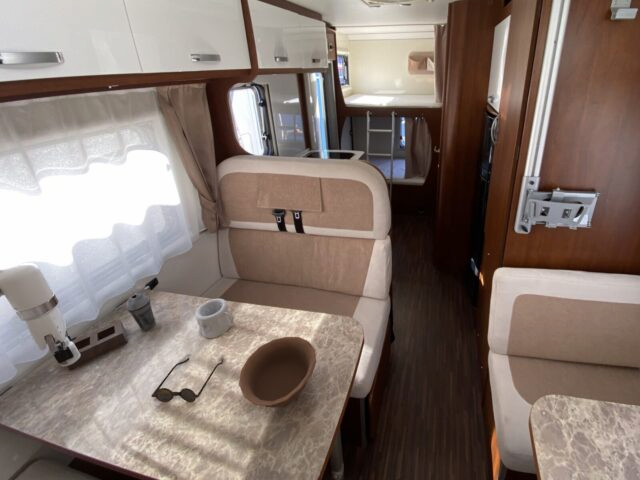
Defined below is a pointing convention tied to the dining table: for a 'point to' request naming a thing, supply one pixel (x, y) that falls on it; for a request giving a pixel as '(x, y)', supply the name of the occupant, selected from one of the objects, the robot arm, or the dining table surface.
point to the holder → (99, 343)
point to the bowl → (277, 371)
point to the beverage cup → (141, 310)
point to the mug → (214, 318)
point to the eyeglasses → (185, 393)
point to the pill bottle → (74, 351)
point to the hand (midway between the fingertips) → (66, 353)
